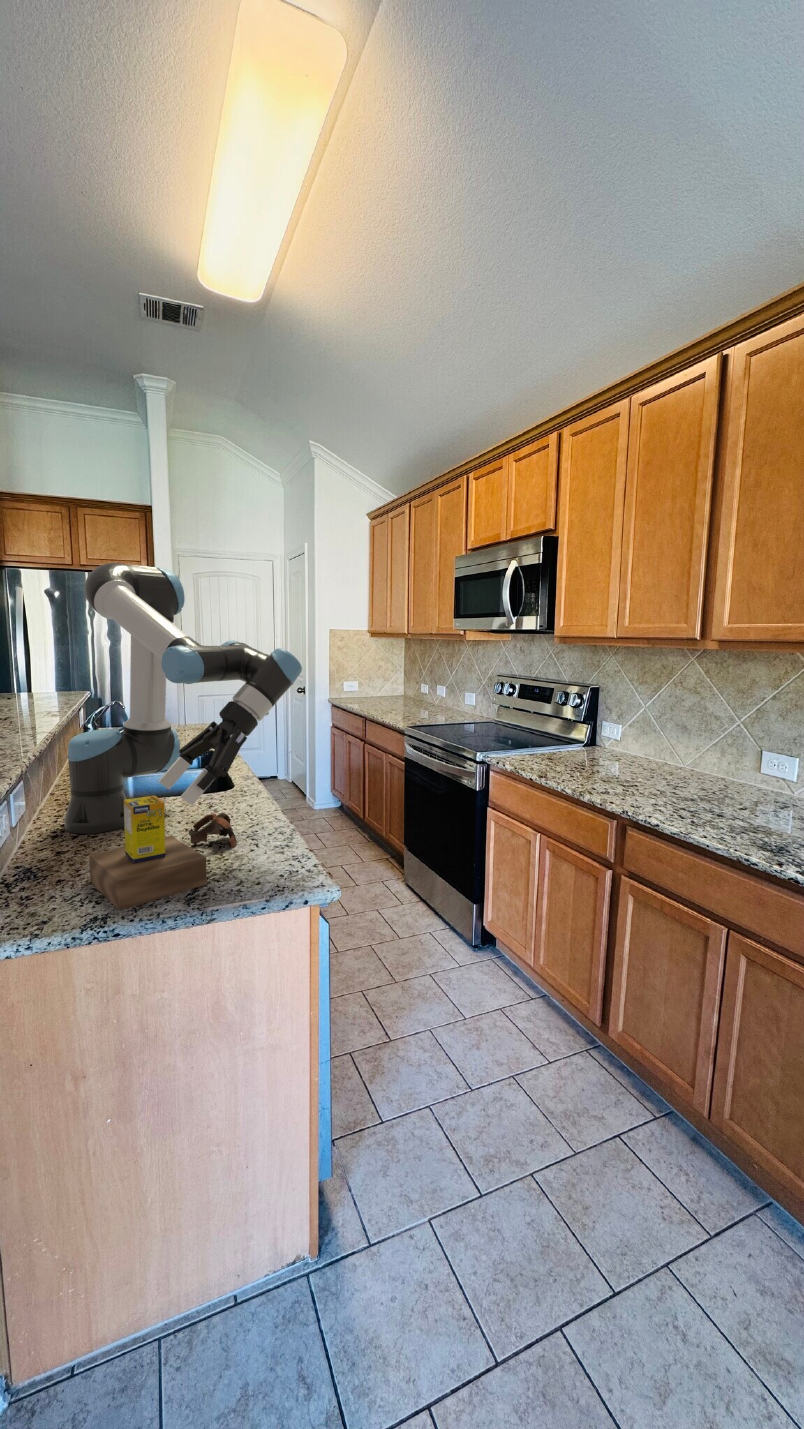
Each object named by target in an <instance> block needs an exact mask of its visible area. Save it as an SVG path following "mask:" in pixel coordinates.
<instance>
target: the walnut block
mask: <svg viewBox="0 0 804 1429" xmlns="http://www.w3.org/2000/svg"><path fill="white" fill-rule="evenodd" d="M88 862H89V864H88V865H89V876H90V877H89V878H90V879H89V880H90V883H91V885H93V886H94V887H95V888H96V889H97V891H99V892H100V894H102V895H103V896H104V897H105V898H106V899H107V900H108V901H109V902H110V903H111V904H112V905H113V906H114V907H115V908H116V909H117V910H118V911H120V912H121V911H124V910H127V909H129V908H134V907H136V906H139V905H144V904H146V903H149V902H153V901H156V900H160V899H163V898H167V897H169V896H172V895H176V894H179V893H183V892H186V891H188V890H192V889H195V888H199V887H202V886H206V885H207V884H208V880H207V879H208V878H207V876H208V874H207V856H205V855H204V854H202V853H200V852H198V851H197V850H195V849H194V848H192V847H190V846H189V845H187V844H185V843H184V842H182V841H181V840H179V839H177V838H176V837H174V836H173V835H169V836H165V857H162V858H157V859H152V860H147V861H142V862H137V863H133V862H132V861H131V860H130V859H129V858H128V856H127V855H126V854H125V846H121V847H118V848H114V849H109V850H105V851H100V852H96V853H92V854H88Z"/></svg>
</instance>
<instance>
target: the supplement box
mask: <svg viewBox="0 0 804 1429" xmlns="http://www.w3.org/2000/svg"><path fill="white" fill-rule="evenodd" d="M165 820H166V819H165V801H163V800H161V799H160V798H159V797H158V796H156V795H148V796H143V797H135V798H134V797H133V798H126V800H124V824H125V826H124V847H125V854H126V855H127V856H128V858H129V859H130V860H131V861H132V862H133V863H137V862H142V861H147V860H152V859H157V858H162V857H165V837H166V830H165V829H166V828H165V825H166V823H165Z"/></svg>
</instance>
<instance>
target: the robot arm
mask: <svg viewBox="0 0 804 1429" xmlns="http://www.w3.org/2000/svg"><path fill="white" fill-rule="evenodd" d="M83 590H84V595H85V598H86V600H87V602H88V604H89V606H90V607H91V608H92V609H93V610H94V611H95V612H96V613H97V614H99V615H100V616H101V617H103V618H105V619H106V620H113V621H114V622H116V623H117V624H118V625H119V626H120V627H121V628H123V629H124V630H125V631H126V632H127V633H129V635H130V666H129V667H130V668H129V669H130V671H129V673H130V675H129V677H130V678H129V680H130V681H129V683H130V684H129V686H130V687H129V718H128V719H127V720H126V721H123V726H122V727H123V728H122V729H123V731H122V732H120V730H119V729H116V728H102V729H95V730H89V731H86V732H82V733H79V734H77V735H75V736H73V737H71V739H69V741H68V744H67V760H68V773H69V790H70V799H69V803H68V806H67V809H66V812H65V815H64V820H63V823H64V830H65V831H66V832H69V833H72V834H82V835H83V834H86V835H88V834H98V833H99V834H101V833H107V832H111V831H115V830H119V829H121V828H125V824H124V800H126V799H127V797H126V794H125V792H124V779H129V778H133V777H137V776H142V775H148V774H155V773H156V774H157V773H160V772H161V771H165V770H167V771H165V773H164V774H163V775H162V776H161V777H160V778H159V780H157V781H158V783H160V784H161V786H163V787H165V788H166V789H167V790H170V789H171V788H172V787H173V786H174V785H175V784H176V782H178V780H179V779H180V778H181V777H182V775H184V773H185V772H186V771H187V770H188V769H189V768H190V766H193V763H194V760H197V759H199V757H201V756H203V755H204V754H205V753H207V752H209V751H211V750H213V753H212V755H211V759H210V761H209V764H208V765H205V766H204V767H203V769H202V771H201V772H200V773H199V774H198V775H197V776H196V777H195V778H194V780H193V781H192V782H191V784H190V785H189V786H188V787H187V788H186V789H185V790H184V791H183V793H182V794H181V795H180V796H179V798H182V799H183V800H184V801H185V802H187V803H188V804H189V805H191V806H194V804H196V802H197V800H198V799H200V798H201V796H202V795H203V794H204V792H205V791H207V789H208V788H209V787H210V786H211V785H212V783H213V782H214V781H215V780H216V779H218V778H220V777H222V778H225V777H226V775H228V772H229V770H230V769H231V766H232V765H233V762H234V760H235V759H236V758H237V755H238V754H239V751H240V749H241V748H242V746H243V745H244V743H245V742H246V741H247V739H248V736H250V735H251V734H252V733H253V731H254V730H255V728H257V727H258V723H259V722H260V721H262V720H263V719H264V718H265V717H266V716H269V714H270V713H269V712H270V711H271V710H272V708H273V707H274V706H275V705H276V703H278V701H279V700H280V698H281V699H282V696H283V695H284V694H285V693H286V692H287V691H288V690H289V689H290V688H291V687H292V685H294V683H295V682H296V680H297V679H298V678H299V676H300V675H301V674H302V670H303V667H302V666H303V665H302V664H301V662H300V661H299V660H298V658H297V657H296V656H295V655H293V654H292V653H291V652H290V651H288V650H286V649H284V648H281V647H280V648H279V647H277V648H275V649H274V650H273V651H271V652H270V654H267V653H264V652H262V651H259V650H258V649H255V648H254V647H252V646H249V645H248V644H246V643H244V642H240V641H238V640H227V641H226V642H224V643H221V645H202V644H200V643H199V642H197V641H196V640H194V639H193V638H192V637H191V636H190V635H188V634H186V633H185V631H184V630H182V629H180V628H179V627H178V626H176V625H175V624H174V622H175V616H176V615H178V614H180V613H181V612H182V610H183V609H182V608H184V605H185V600H186V599H185V598H186V597H185V590H184V587H183V584H182V582H181V580H180V579H179V577H178V576H177V575H176V573H174V572H173V571H172V570H169V569H166V568H162V567H156V566H146V565H145V566H144V565H136V564H127V563H122V562H121V563H120V562H109V563H108V562H107V563H103V564H101V565H98V566H97V567H96V568H94V569H93V570H92V571H91V572H89V575H87V576H86V580H85V582H84V588H83ZM167 680H168V681H169V682H171V683H173V684H185V685H192V684H198V683H210V682H227V681H242V682H244V684H243V685H242V686H241V687H240V688H239V689H238V690H237V691H236V693H234V695H233V696H232V700H231V701H228V702H227V703H226V705H225V706H223V708H222V709H221V710H220V711H219V716H220V719H222V721H221V722H220V723H219V724H218V723H217V722H216V721H214V720H213V721H212V722H211V723H210V724H209V725H208V726H207V727H205V729H204V730H203V731H201V732H200V733H198V734H197V735H196V736H195V737H194V738H193V739H191V740H190V741H189V742H187V743H186V744H185V745H184V746H183V747H181V742H180V739H179V738H178V737H179V734H178V732H176V730H175V729H174V728H172V723H171V722H170V721H169V720H168V719H167V717H166V704H167V702H166V700H167V698H166V696H167V693H166V692H167Z"/></svg>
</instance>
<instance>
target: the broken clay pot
mask: <svg viewBox="0 0 804 1429" xmlns="http://www.w3.org/2000/svg"><path fill="white" fill-rule="evenodd" d="M202 827H203V828H202ZM187 833H188V835H189V836H190V839H189V841H190V844H193V845H195V846H196V845H198V844H199V843H201V842H204V843H208V834H209V835H219V836H220V837H222V836H223V837H227V836H228V838H229V839H228V841H227V842H228V844H230V847H231V849H234V848H235V847H236V845H237V842H238V841H237V837H236V834H235V832H234V830H233V828H232V826H231V817H230V816H229V815H228V813H225V812H221V813H219V814H216V813H210V814H208V815H205V816H204V817H202V818H201V819H199V820H197V821H196V823H194V824H193V825H192V828H190V829H189V830H188V832H187Z"/></svg>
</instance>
